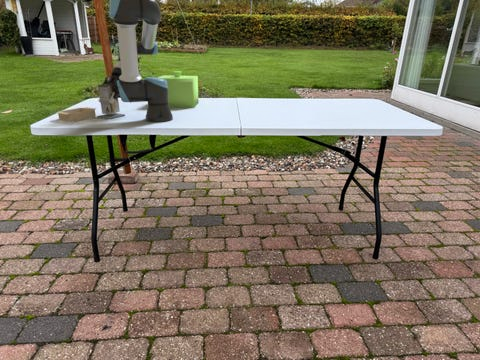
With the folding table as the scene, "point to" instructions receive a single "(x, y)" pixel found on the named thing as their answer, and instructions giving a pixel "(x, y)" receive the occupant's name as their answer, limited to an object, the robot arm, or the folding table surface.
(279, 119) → the folding table surface
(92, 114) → the carton
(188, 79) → the canister
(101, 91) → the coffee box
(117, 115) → the mat
